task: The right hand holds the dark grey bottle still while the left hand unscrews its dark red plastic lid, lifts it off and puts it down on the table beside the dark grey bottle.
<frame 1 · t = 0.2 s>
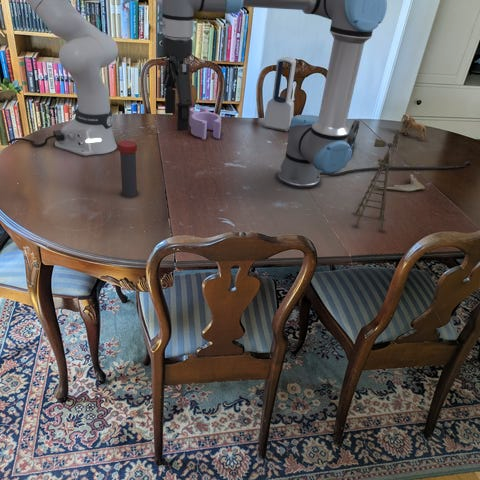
left hand: (175, 19, 144), 48 cm above the table, tool pointing down, fingers open, 8 cm apart
right hand: (176, 121, 126), 28 cm above the table, tool pointing down, fingers open, 13 cm apart
lid: (127, 144, 138), point 16 cm above the table, screwed on, not yet turned
miniature windmill: (368, 222, 146), on the table
jawbone: (396, 185, 172), on the table
electronic device: (277, 128, 212), on the table
lion figurine: (411, 136, 220), on the table
handheld gaming console: (349, 150, 197), on the table
dark grey bottle: (129, 193, 147), on the table
clip: (203, 131, 201), on the table
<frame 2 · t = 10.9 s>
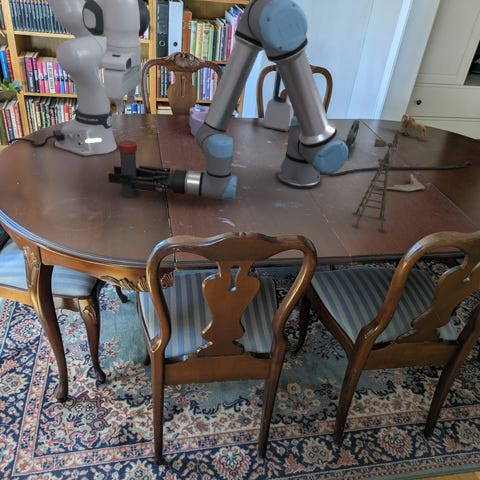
left hand: (126, 107, 132), 28 cm above the table, tool pointing down, fingers open, 7 cm apart
right hand: (111, 174, 144), 6 cm above the table, tool horizontal, fingers closed on dark grey bottle, 5 cm apart
dark grey bottle: (129, 193, 147), on the table, touching right hand
everything else where it was.
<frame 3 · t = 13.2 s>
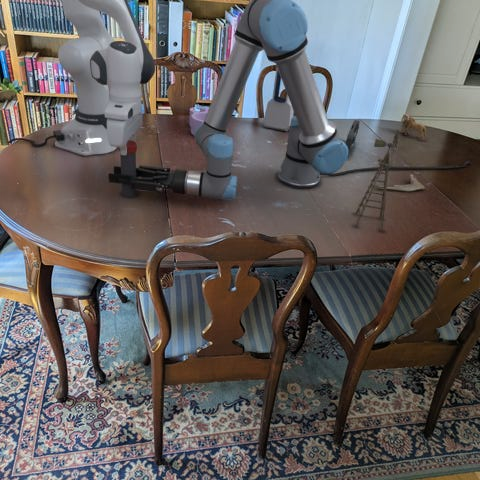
left hand: (127, 150, 139), 15 cm above the table, tool pointing down, fingers closed on lid, 5 cm apart
right hand: (111, 174, 144), 6 cm above the table, tool horizontal, fingers closed on dark grey bottle, 5 cm apart
lid: (127, 144, 138), point 16 cm above the table, screwed on, not yet turned, touching left hand
dark grey bottle: (129, 193, 147), on the table, touching right hand
everything else where it was.
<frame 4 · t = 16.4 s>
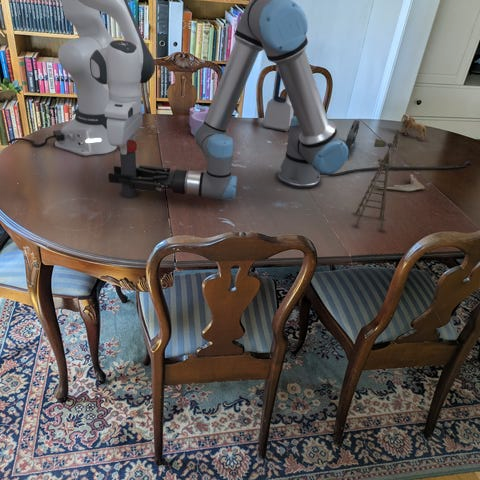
left hand: (127, 149, 139), 15 cm above the table, tool pointing down, fingers closed on lid, 5 cm apart
right hand: (111, 174, 144), 6 cm above the table, tool horizontal, fingers closed on dark grey bottle, 5 cm apart
lid: (127, 143, 138), point 17 cm above the table, turned 74° so far, risen 0.2 cm, still on its thread, touching left hand
dark grey bottle: (129, 193, 147), on the table, touching right hand
everything else where it was.
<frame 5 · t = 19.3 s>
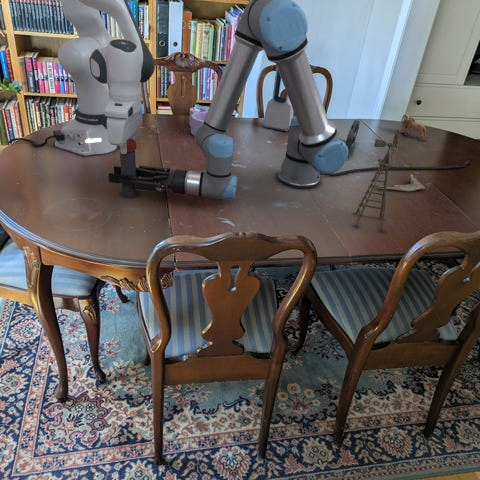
left hand: (127, 149, 139), 15 cm above the table, tool pointing down, fingers closed on lid, 5 cm apart
right hand: (111, 174, 144), 6 cm above the table, tool horizontal, fingers closed on dark grey bottle, 5 cm apart
lid: (127, 143, 138), point 17 cm above the table, turned 148° so far, risen 0.5 cm, still on its thread, touching left hand
dark grey bottle: (129, 193, 147), on the table, touching right hand
everything else where it was.
when the left hand's fingers open (2 cm above the table, at t = 26.7 s): lid drops 2 cm, point 2 cm above the table.
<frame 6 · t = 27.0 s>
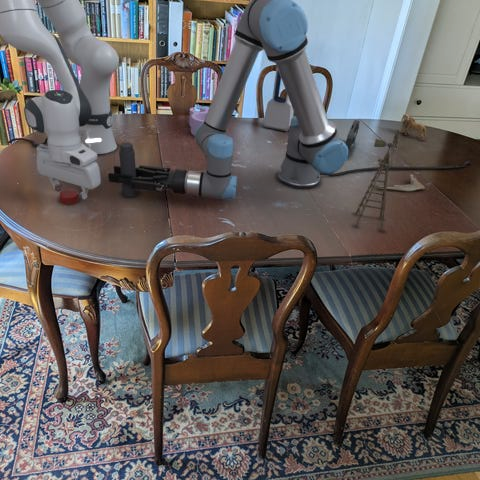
left hand: (70, 194, 139), 2 cm above the table, tool pointing down, fingers open, 8 cm apart
right hand: (111, 173, 144), 6 cm above the table, tool horizontal, fingers closed on dark grey bottle, 5 cm apart
lid: (68, 194, 140), point 2 cm above the table, off its thread
dark grey bottle: (129, 193, 147), on the table, touching right hand
everything else where it was.
when the right hand's fingers open (6 cm above the table, at t = 27.5 s): dark grey bottle stays where it is, on the table.
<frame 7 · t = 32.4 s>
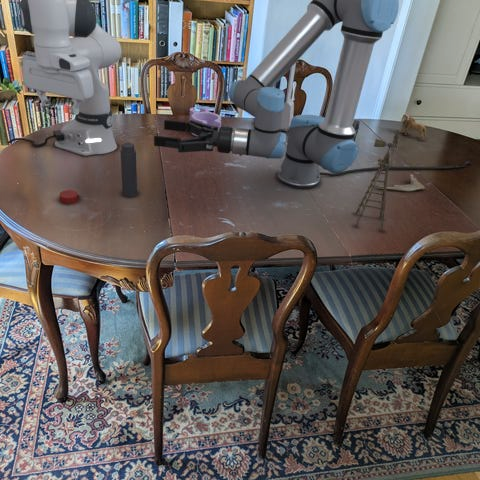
left hand: (60, 110, 126), 28 cm above the table, tool pointing down, fingers open, 8 cm apart
right hand: (159, 132, 136), 21 cm above the table, tool horizontal, fingers open, 13 cm apart
dark grey bottle: (129, 193, 147), on the table
everything else where it was.
at the end: lid came off its thread; lid point 1.7 cm above the table; the left hand is holding nothing; the right hand is holding nothing; dark grey bottle tilted 0°; dark grey bottle moved 0.1 cm from its start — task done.
